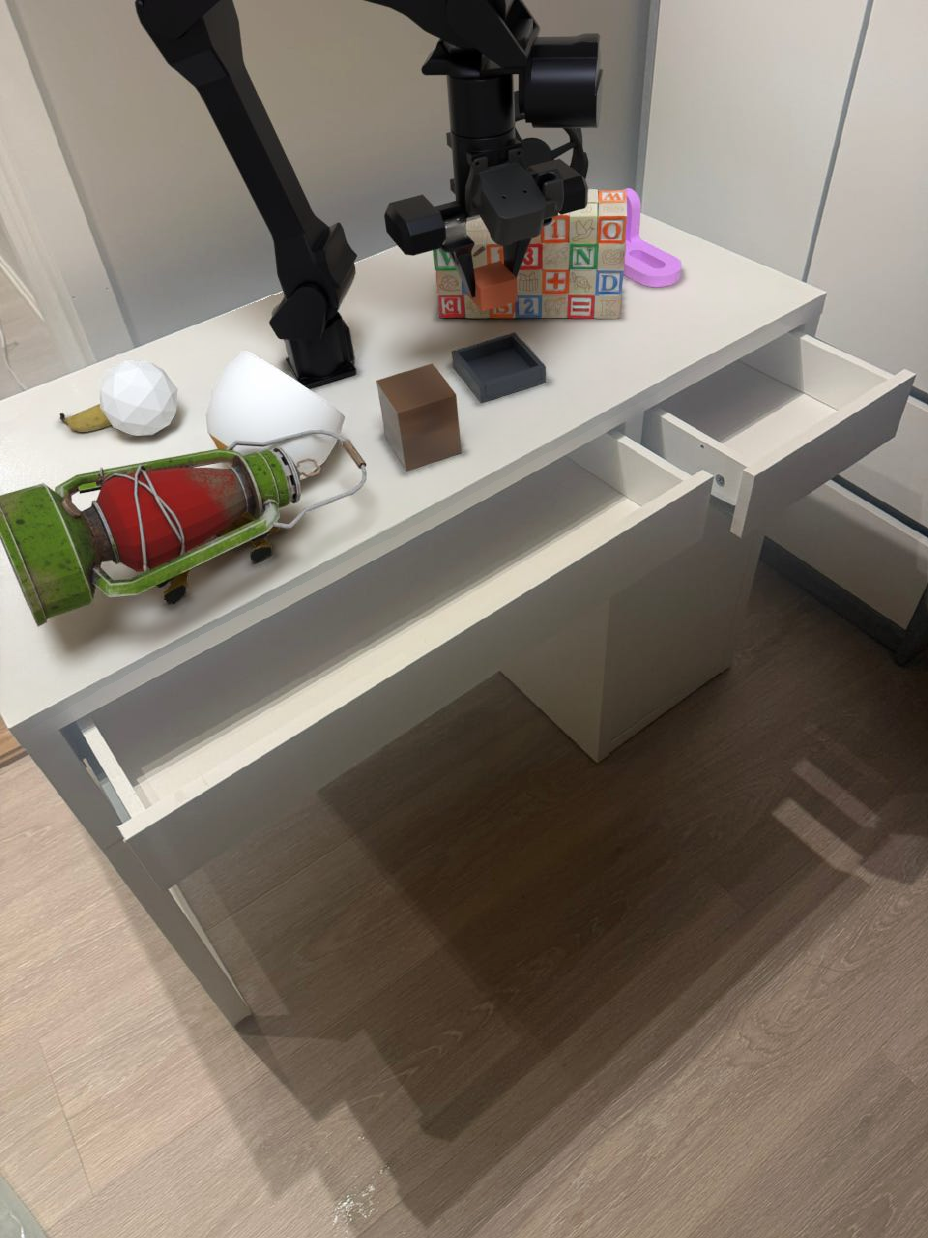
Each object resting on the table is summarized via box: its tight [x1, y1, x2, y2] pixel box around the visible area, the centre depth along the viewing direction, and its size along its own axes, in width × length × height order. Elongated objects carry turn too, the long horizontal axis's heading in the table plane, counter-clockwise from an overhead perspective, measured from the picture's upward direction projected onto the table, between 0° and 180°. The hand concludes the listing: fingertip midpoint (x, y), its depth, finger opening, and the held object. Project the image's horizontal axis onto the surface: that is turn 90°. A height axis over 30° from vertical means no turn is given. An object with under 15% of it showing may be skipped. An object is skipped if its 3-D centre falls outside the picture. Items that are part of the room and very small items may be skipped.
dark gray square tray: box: [451, 331, 547, 404], centre depth 100 cm, size 8×8×2 cm
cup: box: [205, 349, 346, 481], centre depth 88 cm, size 12×12×10 cm
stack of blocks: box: [432, 188, 627, 320], centre depth 105 cm, size 21×6×12 cm, turn 84°
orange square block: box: [466, 261, 518, 312], centre depth 92 cm, size 4×4×2 cm
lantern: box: [0, 430, 368, 627], centre depth 77 cm, size 14×11×30 cm
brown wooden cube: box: [375, 362, 462, 472], centre depth 91 cm, size 6×6×7 cm
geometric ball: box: [99, 359, 178, 437], centre depth 96 cm, size 8×8×8 cm
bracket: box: [622, 187, 682, 288], centre depth 111 cm, size 13×6×7 cm, turn 35°
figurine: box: [153, 512, 281, 605], centre depth 84 cm, size 15×6×13 cm
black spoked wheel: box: [514, 90, 589, 180], centre depth 119 cm, size 14×14×10 cm
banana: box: [58, 403, 112, 433], centre depth 99 cm, size 10×2×4 cm
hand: (491, 289), depth 93 cm, fingers closed on orange square block, 4 cm apart
